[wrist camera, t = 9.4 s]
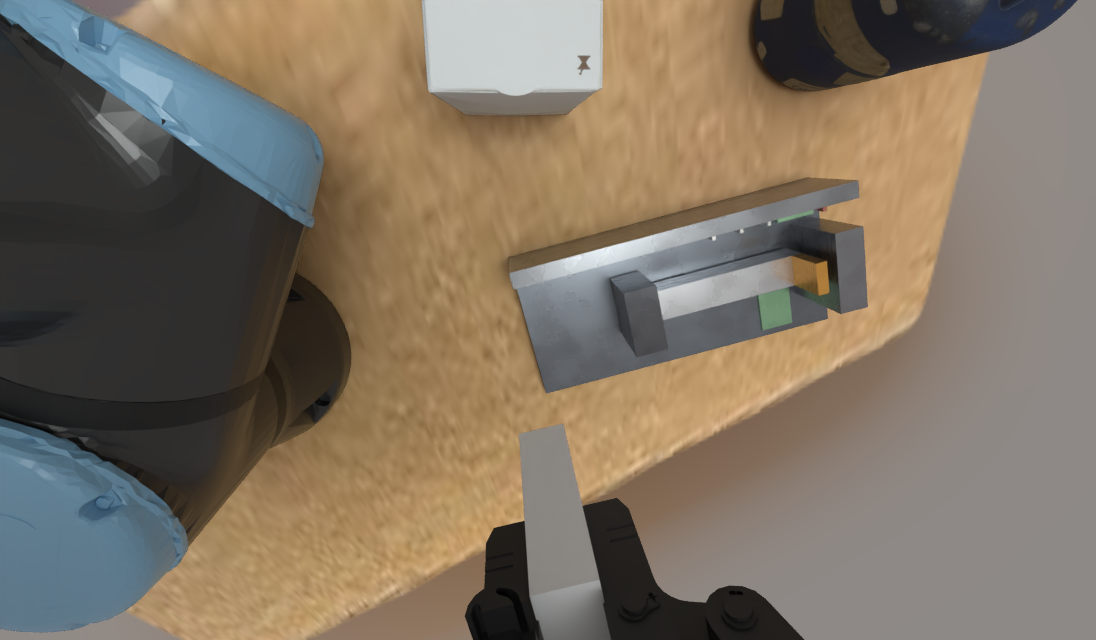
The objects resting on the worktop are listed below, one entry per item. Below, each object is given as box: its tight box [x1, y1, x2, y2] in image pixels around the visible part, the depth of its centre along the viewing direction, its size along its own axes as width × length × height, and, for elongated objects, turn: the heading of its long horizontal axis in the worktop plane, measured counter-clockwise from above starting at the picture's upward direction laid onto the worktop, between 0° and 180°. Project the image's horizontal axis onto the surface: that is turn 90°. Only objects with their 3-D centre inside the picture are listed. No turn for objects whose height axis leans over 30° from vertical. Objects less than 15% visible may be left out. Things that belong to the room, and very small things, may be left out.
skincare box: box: [422, 0, 603, 116], centre depth 30 cm, size 8×7×16 cm
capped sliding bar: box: [610, 248, 829, 357], centre depth 39 cm, size 14×5×6 cm, turn 104°
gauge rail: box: [509, 178, 868, 393], centre depth 39 cm, size 25×12×7 cm, turn 104°
